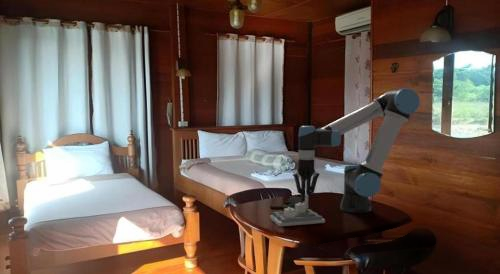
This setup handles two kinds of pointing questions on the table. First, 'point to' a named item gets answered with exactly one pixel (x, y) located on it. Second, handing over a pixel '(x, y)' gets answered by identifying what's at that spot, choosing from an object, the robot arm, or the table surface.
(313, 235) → the table surface
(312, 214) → the switch plate
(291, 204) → the firearm
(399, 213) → the table surface
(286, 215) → the tab
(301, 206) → the tab
